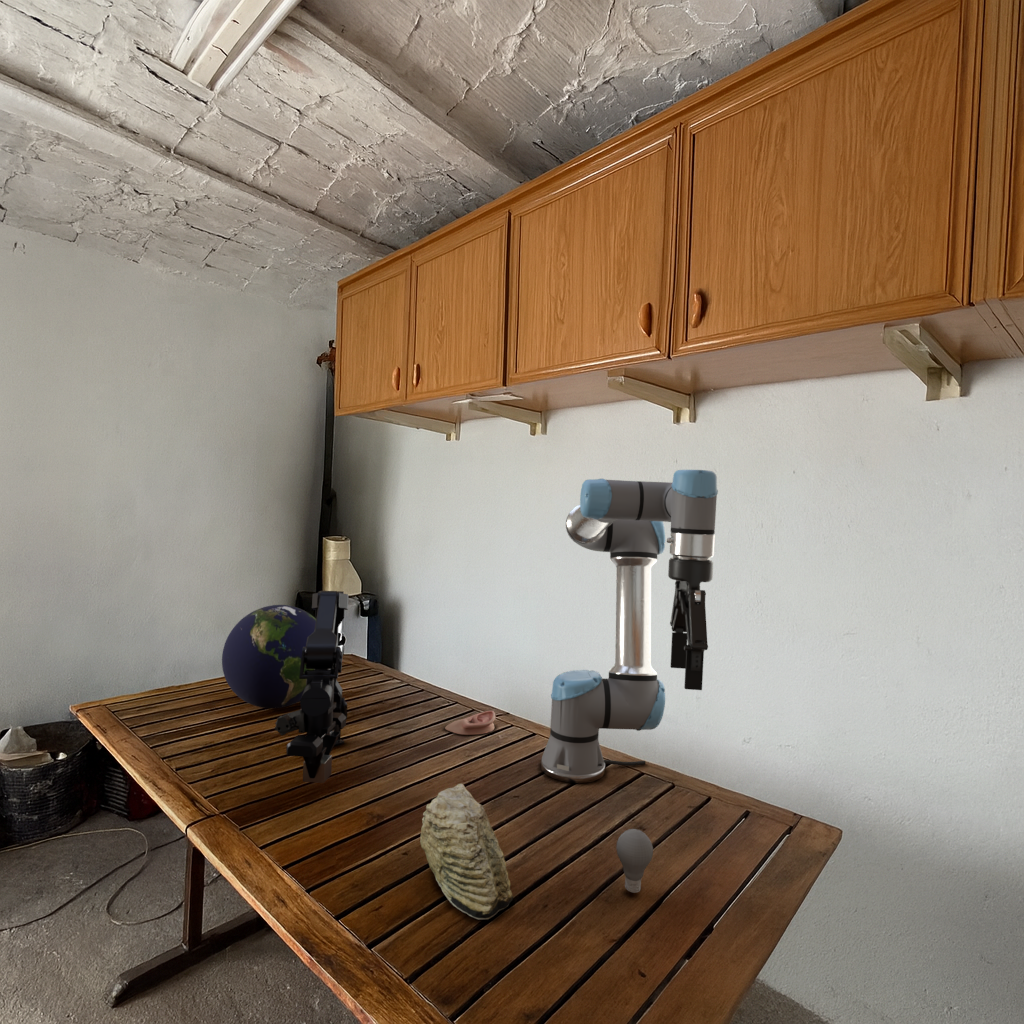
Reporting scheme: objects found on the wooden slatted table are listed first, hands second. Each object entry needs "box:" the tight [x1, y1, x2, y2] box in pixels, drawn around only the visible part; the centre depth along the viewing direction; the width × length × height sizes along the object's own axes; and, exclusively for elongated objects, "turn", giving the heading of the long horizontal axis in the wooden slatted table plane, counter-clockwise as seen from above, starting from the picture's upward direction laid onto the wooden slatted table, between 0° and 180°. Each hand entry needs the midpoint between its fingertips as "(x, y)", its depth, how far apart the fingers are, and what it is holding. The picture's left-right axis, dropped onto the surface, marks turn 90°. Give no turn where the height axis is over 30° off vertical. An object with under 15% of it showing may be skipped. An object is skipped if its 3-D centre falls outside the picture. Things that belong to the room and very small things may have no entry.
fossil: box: [419, 783, 514, 921], centre depth 104 cm, size 9×18×15 cm, turn 45°
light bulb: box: [615, 828, 654, 894], centre depth 106 cm, size 6×6×10 cm
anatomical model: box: [444, 710, 496, 736], centre depth 177 cm, size 13×4×12 cm
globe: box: [221, 604, 316, 709], centre depth 188 cm, size 30×30×30 cm
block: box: [302, 754, 333, 784], centre depth 135 cm, size 4×5×4 cm
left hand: (316, 773), depth 135 cm, fingers closed on block, 4 cm apart
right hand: (685, 678), depth 112 cm, fingers open, 13 cm apart
